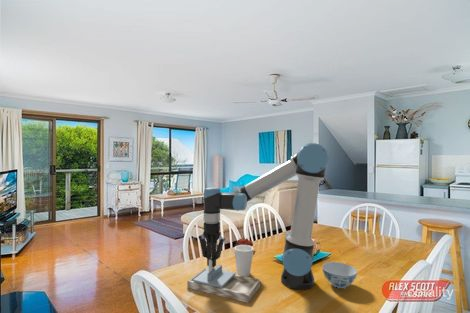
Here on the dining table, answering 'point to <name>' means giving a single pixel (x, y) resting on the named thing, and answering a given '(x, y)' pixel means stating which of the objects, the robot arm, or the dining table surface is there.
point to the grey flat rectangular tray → (229, 287)
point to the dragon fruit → (244, 242)
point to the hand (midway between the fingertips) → (211, 273)
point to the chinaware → (339, 274)
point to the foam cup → (243, 259)
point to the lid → (214, 277)
